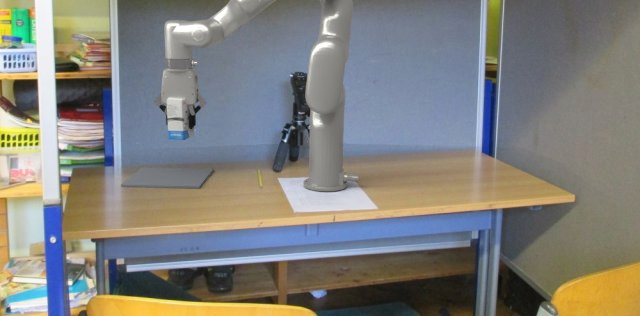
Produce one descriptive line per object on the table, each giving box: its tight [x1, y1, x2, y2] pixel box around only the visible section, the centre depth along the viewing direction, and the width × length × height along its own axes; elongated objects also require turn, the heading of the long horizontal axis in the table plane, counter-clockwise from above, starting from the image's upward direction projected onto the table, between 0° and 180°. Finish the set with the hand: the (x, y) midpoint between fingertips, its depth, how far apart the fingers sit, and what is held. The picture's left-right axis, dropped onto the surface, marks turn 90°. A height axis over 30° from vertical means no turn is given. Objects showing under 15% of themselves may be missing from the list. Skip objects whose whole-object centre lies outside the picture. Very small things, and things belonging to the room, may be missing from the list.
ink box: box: [167, 98, 195, 141], centre depth 188 cm, size 9×5×12 cm, turn 169°
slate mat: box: [120, 166, 214, 190], centre depth 192 cm, size 22×20×1 cm
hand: (181, 127), depth 188 cm, fingers closed on ink box, 5 cm apart
